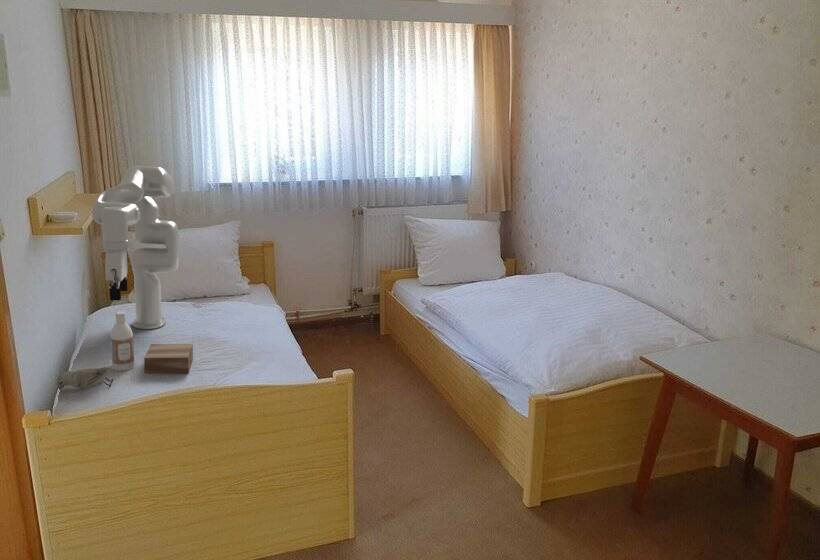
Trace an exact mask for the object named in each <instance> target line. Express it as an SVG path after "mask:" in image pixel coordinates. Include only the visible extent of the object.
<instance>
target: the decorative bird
mask: <svg viewBox="0 0 820 560" xmlns="http://www.w3.org/2000/svg"><path fill="white" fill-rule="evenodd" d="M112 368H113V366H112V365H111V366H109V365H108V366H102V367H101V366H100V367H96V368H94V367H93V368H83V369H78V370H71V371H70V370H68V371H65V372H63V373H61V374H60V375H59V377H58V379H57V388H58V390H62V389H63V388H65V387H69V386H70V387H73V388H75V389H88V388H94V387H96V386H100V385H101V384H105V385H107V386H108V388H111V387H112V383H113V381H114V378H112V379H111V380H110V379H108V378H107V375H108V374H109V371H111V369H112ZM105 380H106V381H108V382H109V383H110V384H109V383H107V382H106V381H105Z"/></svg>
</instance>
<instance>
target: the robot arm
mask: <svg viewBox="0 0 820 560" xmlns="http://www.w3.org/2000/svg"><path fill="white" fill-rule="evenodd" d="M174 185H175V184H174V181H173V178H172V176H171V175H170V174H169V173H168V172H167V170H166V169H164V168H162V167H160V166H146V165H144V166H143V165H133V166H130V167H128V168H127V169H126V171H125V172H124V174H123V176H122V177H121V180H120V182H119V184H118V185H116V186H113V187H111V188H107V189H105V190H104V191H102V192H101V193H100V194H99V195H98V196H97V198H96V199H95V201H94V204H93V206H92V210H91V214H92V215H91V216H92V219H93V221H94V222H95V223H96V224H99V225H101V228H102V229H101V230H102V243H103V251H104V252H105V260H104V261H105V262H104V264H105V267H104V268H105V270H104V271H105V281H106V282H109V284H108V285H109V286H108V287H109V300H110V301H121V300H122V296H121V295H122V293H121V292H128V289H129V288H128V276H127V275H128V272H129V271H128V267H129V266H128V258H127V257H128V255H127V251H130V245H129V244H130V241H129V227H132V226H134V236H135V240H136V242H137V243H139V244H142V245H143V244H144V245H163V246H165V248H164V247H163V248H162V247H138V248H135V249H134V250H132V252H131V253H130V264H131V269H132V273H133V282H134V298H135V303H134V304H135V319H133V321H132V326H133V328H136V329H139V330H152V329H159V328H161V327H163V326H165V325H166V324H167V320H166V318H164V317H162V316H163V315H162V290H161V288H162V287H161V280H160V279H159V277H158V276H157V274H156V273H173V272H174V273H175V272H176V271H177V270H178V268H179V263H180V259H179V258H180V257H179V255H180V254H179V253H180V251H179V250H180V249H179V248H180V238H179V237H180V234H179V228H178V227H179V226H178V224H177V223H176V222H174V221H172V220H163V219H161V220H160V219H159V218H160V217H159V206H158V204H157V203H156V201H155V200H154V199H153V198H161V199H162V198H163V199H166V198H170V197H171V196H172V195H173V194H174V192H175V191H174V190H175V187H174Z"/></svg>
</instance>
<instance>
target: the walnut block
mask: <svg viewBox="0 0 820 560" xmlns="http://www.w3.org/2000/svg"><path fill="white" fill-rule="evenodd" d="M193 347H194V345H193V343H150V345H149V347H148V349H147V351H146V354H145V356H144V358H143V360H144V361H143V362H144V375H189V374H190V371H191V368H192V367H191V366H192V364H193V360H194V351H193V350H194V348H193Z"/></svg>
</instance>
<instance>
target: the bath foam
mask: <svg viewBox="0 0 820 560" xmlns="http://www.w3.org/2000/svg"><path fill="white" fill-rule="evenodd" d="M134 349H135V346H134V333H133V330H132V328H131V327H130V326H129V324H128V323H127V322H126V312H125V311H123V310H122V311H120V310H119V311H117V312H115V324H114V325H113V327H112V329H111V331H110V351H111V362H112V363H111V364H112V365H111V366H113V367H112V369H113V370H115V371H119V372H125V371H129V370H132V369H133V368H134V367H135V351H134Z"/></svg>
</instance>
